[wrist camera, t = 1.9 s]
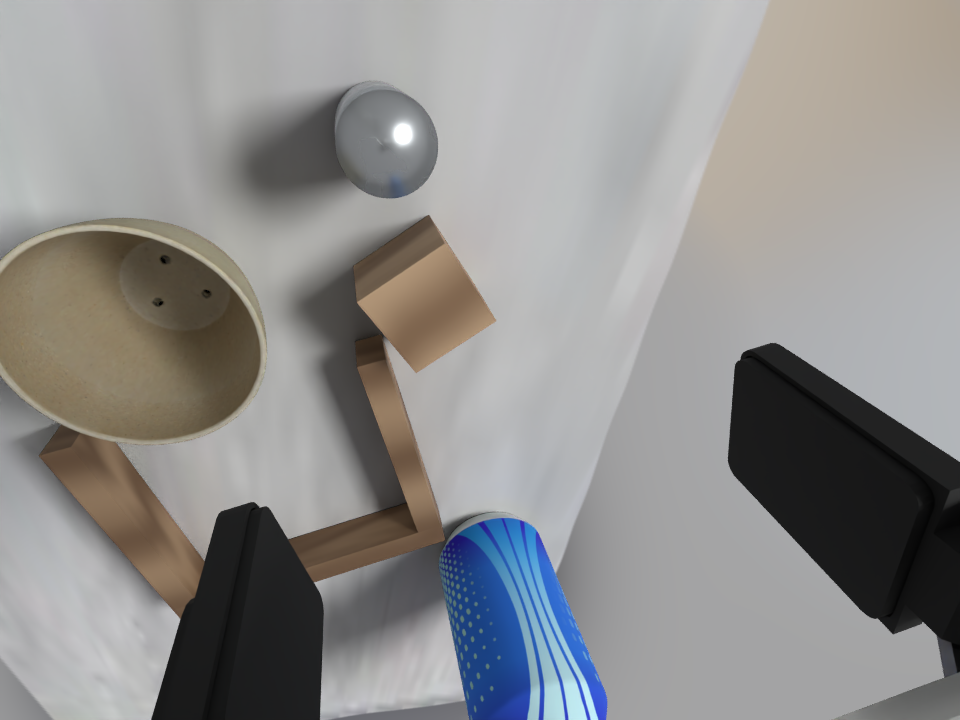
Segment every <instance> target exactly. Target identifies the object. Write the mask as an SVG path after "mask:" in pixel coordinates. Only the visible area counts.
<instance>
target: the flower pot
mask: <svg viewBox="0 0 960 720" xmlns="http://www.w3.org/2000/svg"><path fill="white" fill-rule="evenodd" d="M161 257H163V258H164V259H165V261H166V263H165V264H164V263H163V262H162V261H161ZM204 290H208V291H210V292H206V291H204ZM160 301H163V304H162V305H160V306H159V302H160ZM266 360H267V343H266V332H265V325H264V320H263V316H262V312H261V309H260V306H259V303H258V300H257V298H256V295H255V293H254V291H253V289H252V287H251V285H250V283H249V281H248V280H247V278H246V277H245V275H244V274H243V272H242V271H241V270H240V268H239V267H238V266H237V265H236V263H235V262H234V261H233V260H232V259H231V258H230V257H229V256H228V255H227V254H226V253H225V252H224V251H222V250H221V249H220V248H219V247H217V246H216V245H215V244H213V243H212V242H210V241H209V240H207V239H205V238H203V237H202V236H200V235H198V234H196V233H194V232H192V231H189V230H187V229H184V228H182V227H179V226H175V225H172V224H168V223H164V222H159V221H154V220H146V219H136V218H111V219H100V220H92V221H86V222H80V223H76V224H71V225H67V226H63V227H60V228H56V229H53V230H50V231H48V232H45V233H42V234H40V235H37V236H35V237H32V238H30V239H28V240H26V241H25V242H23V243H21V244H20V245H18V246H17V247H15V248H14V249H12V250H11V251H10V252H9V253H8V254H6V255H5V256H4V257H3V258H2V259H1V260H0V376H1V377H2V379H3V380H4V381H5V382H6V383H7V384H8V386H9V387H10V388H11V389H12V390H13V391H14V392H15V393H16V394H17V395H18V396H19V397H20V398H22V399H23V400H24V401H25V402H27V403H28V404H29V405H31V406H32V407H33V408H35V409H36V410H37V411H39V412H40V413H42V414H43V415H45V416H47V417H48V418H50V419H52V420H53V421H55V422H57V423H59V424H62V425H63V426H65V427H67V428H70V429H72V430H74V431H77V432H80V433H82V434H85V435H89V436H92V437H95V438H99V439H103V440H107V441H111V442H117V443H125V444H135V445H164V444H172V443H179V442H183V441H188V440H192V439H195V438H198V437H201V436H204V435H207V434H209V433H211V432H214V431H216V430H218V429H220V428H221V427H223V426H225V425H226V424H228V423H229V422H231V421H232V420H234V419H235V418H236V417H237V416H238V415H239V414H240V413H241V412H242V411H243V410H244V409H246V407H247V406H248V405H249V404H250V403H251V401H252V400H253V398H254V397H255V395H256V393H257V392H258V390H259V387H260V385H261V383H262V380H263V377H264V373H265V369H266Z"/></svg>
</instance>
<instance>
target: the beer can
mask: <svg viewBox="0 0 960 720" xmlns="http://www.w3.org/2000/svg"><path fill="white" fill-rule="evenodd" d="M439 571H440V576H441V581H442V586H443V591H444V596H445V601H446V606H447V611H448V616H449V621H450V626H451V631H452V636H453V641H454V646H455V651H456V656H457V660H458V665H459V670H460V675H461V680H462V685H463V690H464V695H465V700H466V705H467V710H468V715H469V720H606V714H607V697H606V694H605V691H604V688H603V686H602V684H601V681H600V679H599V676H598V674H597V672H596V669H595V667H594V664H593V662H592V660H591V657H590V655H589V653H588V650H587V648H586V645H585V643H584V641H583V638H582V636H581V633H580V631H579V629H578V626H577V624H576V622H575V619H574V617H573V614H572V612H571V610H570V607H569V605H568V603H567V600H566V598H565V595H564V593H563V591H562V588H561V586H560V583H559V581H558V579H557V576H556V574H555V572H554V569H553V567H552V564H551V562H550V560H549V557H548V555H547V552H546V550H545V548H544V545H543V543H542V541H541V538H540V536H539V534H538V532H537V530H536V529H535V528H534V527H533V526H532V525H531V524H529V523H528V522H526V521H524V520H521V519H519V518H518V517H516V516H514V515H512V514H508V513H503V512H491V513H485V514H481V515H478V516H475V517H473V518H471V519H469V520H467V521H465V522H464V523H462V524H461V525H460V526H458V527H457V528H456V529H455V530H454V531H453V532H452V534H451V535H450V537H449V538H448V540H447V543H446V545H445V547H444V548H443V550H442V552H441V555H440V558H439Z"/></svg>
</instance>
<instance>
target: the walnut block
mask: <svg viewBox="0 0 960 720" xmlns="http://www.w3.org/2000/svg"><path fill="white" fill-rule="evenodd" d="M353 268H354V278H355V288H356V298H357V303H358V304H359V306H360V307H361V308H362V309H363V310H364V312H365V313H366V314H367V315H368V316H369V318H370V319H371V320H372V321H373V322H374V323H375V325H376V326H377V327H378V328H379V329H380V331H381V332H382V333H383V334H384V335H385V337H386V338H387V339H388V340H389V341H390V343H391V344H392V345H393V346H394V347H395V348H396V350H397V351H398V352H399V353H400V354H401V356H402V357H403V358H404V359H405V360H406V362H407V363H408V364H409V365H410V366H411V368H412V369H413V370H414V371H415V372H416V373H417V372H418V371H420V370H422V369H423V368H425V367H426V366H428V365H429V364H431V363H432V362H434V361H435V360H437V359H439V358H440V357H442V356H443V355H445V354H446V353H448V352H449V351H451V350H452V349H454V348H455V347H457V346H459V345H460V344H462V343H463V342H465V341H466V340H468V339H469V338H471V337H472V336H474V335H476V334H477V333H479V332H480V331H482V330H483V329H485V328H486V327H488V326H489V325H491V324H492V323H494V322H496V319H495V318H494V316H493V314H492V313H491V311H490V309H489V308H488V306H487V304H486V303H485V301H484V299H483V298H482V296H481V294H480V293H479V291H478V289H477V288H476V286H475V284H474V283H473V281H472V280H471V278H470V277H469V275H468V274H467V272H466V271H465V269H464V268H463V266H462V265H461V263H460V262H459V260H458V259H457V257H456V256H455V254H454V253H453V251H452V249H451V248H450V246H449V245H448V243H447V242H446V240H445V239H444V237H443V236H442V234H441V233H440V231H439V230H438V228H437V227H436V225H435V224H434V222H433V221H432V219H431V218H430V216H429V215H428V216H426V217H425V218H424V219H422V220H421V221H419V222H418V223H416V224H415V225H413V226H412V227H410V228H409V229H407V230H406V231H404V232H403V233H401V234H400V235H398V236H397V237H395V238H394V239H392V240H391V241H390V242H388V243H387V244H385V245H384V246H382V247H381V248H379V249H378V250H376V251H375V252H373V253H372V254H370V255H369V256H367V257H366V258H364V259H363V260H361V261H360V262H359V263H357V264H356V265H354V266H353Z"/></svg>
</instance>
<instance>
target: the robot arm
mask: <svg viewBox="0 0 960 720" xmlns="http://www.w3.org/2000/svg"><path fill="white" fill-rule="evenodd" d="M728 463H729V466H730V469H731V471H732V473H733V474H734V476H735V477H736V478H737V479H738V480H739V481H740V482H741V483H742V484H743V485H744V486H745V487H746V489H747V490H748V491H749V492H750V493H751V494H752V495H753V496H754V497H755V498H756V499H757V500H758V501H759V502H760V504H761V505H762V506H763V507H764V508H765V509H766V510H767V511H768V512H769V513H770V514H771V515H772V516H773V517H774V518H775V519H776V520H777V522H778V523H779V524H780V525H781V526H782V527H783V528H784V529H785V530H786V531H787V532H788V533H789V534H790V535H791V536H792V538H793V539H795V541H796V542H797V543H798V544H799V545H800V546H801V547H802V548H803V549H804V550H805V551H806V552H807V553H808V554H809V556H810V557H811V558H812V559H813V560H814V561H815V562H816V563H817V564H818V565H819V566H820V567H821V568H822V569H823V570H824V571H825V573H826V574H827V575H828V576H829V577H830V578H831V579H832V580H833V581H834V582H835V583H836V584H837V585H838V586H839V587H840V588H841V589H842V591H843V592H844V593H845V594H846V595H847V596H848V597H849V598H850V599H851V600H852V601H853V602H854V603H855V604H856V605H857V606H858V608H859V609H860V610H861V611H862V612H864V613H865V614H866V615H867V616H869V617H871V618H874V619H876V618H878V619H879V620H880V621H881V622H882V623H883V624H884V625H885V626H886V627H887V628H888V629H889V631H890V632H891V633H892V634H895V633H898V632H901V631H904V630H906V629H909V628H912V627H914V626H917V625H920V624H922V622H924V623H925V624H926V625H927V626H928V627H929V628H930V629H931V630H932V631H933V632H934V633H935V634H936V635H937V640H938V646H939V651H940V656H941V662H942V667H943V673H944V678H942V679H940V680H937V681H934V682H931V683H929V684H926V685H923V686H921V687H918V688H915V689H912V690H910V691H907V692H904V693H902V694H899V695H897V696H894V697H891V698H888V699H886V700H883V701H880V702H878V703H875V704H872V705H870V706H867V707H865V708H862V709H859V710H856V711H854V712H851V713H849V714H846V715H843V716H841V717H838V718H835V719H833V720H960V462H959V461H957V460H956V459H954V458H953V457H951V456H950V455H948V454H947V453H945V452H944V451H942V450H940V449H939V448H937V447H936V446H934V445H933V444H931V443H930V442H928V441H927V440H925V439H924V438H922V437H921V436H919V435H917V434H916V433H914V432H913V431H911V430H910V429H908V428H907V427H905V426H904V425H902V424H901V423H899V422H897V421H896V420H894V419H893V418H891V417H890V416H888V415H887V414H885V413H883V412H882V411H880V410H879V409H878V408H876V407H874V406H873V405H871V404H870V403H868V402H867V401H865V400H864V399H862V398H861V397H859V396H858V395H856V394H855V393H853V392H851V391H850V390H848V389H847V388H845V387H843V386H842V385H840V384H839V383H838V382H836V381H834V380H833V379H832V378H830V377H828V376H827V375H825V374H824V373H822V372H821V371H819V370H818V369H816V368H815V367H813V366H811V365H810V364H808V363H807V362H805V361H804V360H802V359H801V358H799V357H798V356H796V355H795V354H793V353H792V352H790V351H789V350H786V349H785V348H784V347H782V346H781V345H779V344H776V343H770V344H767V345H763V346H760V347H757V348H754V349H750V350H747V351H745V352H743V354H742V356H741V360H740V361H738V362H737V363H736V364H735V371H734V384H733V398H732V412H731V424H730V438H729V451H728ZM323 616H324V610H323V602H322V598H321V595H320V593H319V591H318V589H317V587H316V586H315V584H314V582H313V581H312V579H311V577H310V576H309V574H308V572H307V571H306V569H305V567H304V566H303V564H302V562H301V560H300V559H299V557H298V555H297V554H296V552H295V550H294V549H293V547H292V545H291V544H290V542H289V540H288V539H287V537H286V535H285V534H284V532H283V530H282V529H281V527H280V525H279V524H278V522H277V520H276V519H275V517H274V515H273V513H272V512H271V510H270V509H269V508H268V507H267V506H266V507H261V508H259V506H258V505H257V504H256V503H254V502H250V503H247V504H244V505H241V506H237V507H234V508H231V509H228V510H224V511H221V512H220V513H219V514H218V517H217V519H216V523H215V526H214V530H213V533H212V537H211V541H210V544H209V548H208V552H207V555H206V559H205V562H204V566H203V570H202V573H201V577H200V580H199V584H198V588H197V591H196V595H195V598H193V599H191V600H190V601H189V602H188V603H187V604H186V606H185V608H184V611H183V613H182V616H181V620H180V623H179V626H178V630H177V633H176V637H175V640H174V644H173V647H172V650H171V654H170V657H169V661H168V664H167V668H166V671H165V675H164V678H163V681H162V685H161V688H160V692H159V695H158V699H157V702H156V705H155V709H154V712H153V716H152V719H151V720H320V700H321V672H322V644H323Z"/></svg>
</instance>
